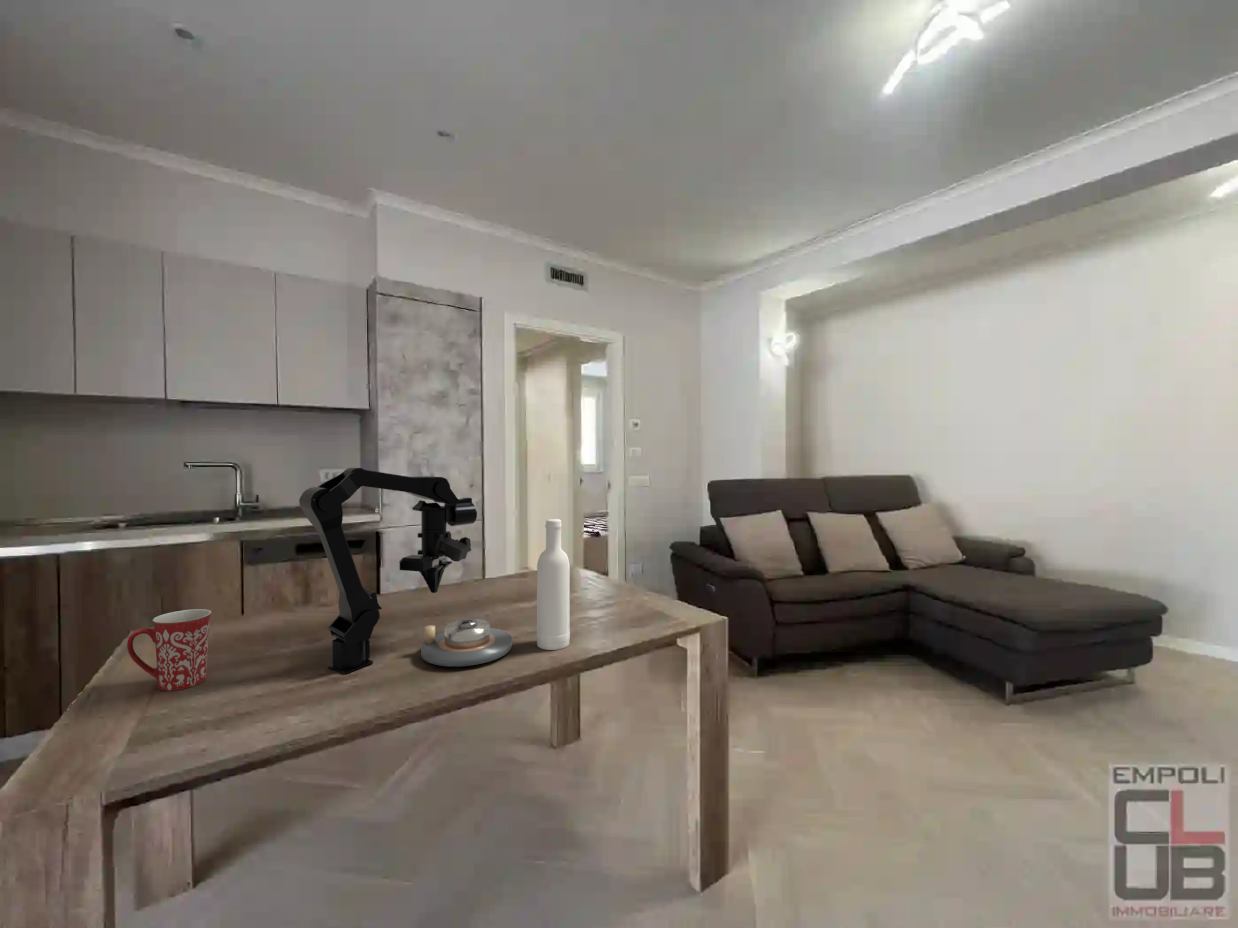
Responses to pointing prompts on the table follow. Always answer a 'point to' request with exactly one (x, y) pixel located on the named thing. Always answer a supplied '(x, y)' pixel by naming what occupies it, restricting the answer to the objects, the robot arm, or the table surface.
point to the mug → (177, 648)
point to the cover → (467, 634)
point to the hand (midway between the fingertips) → (434, 592)
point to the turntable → (445, 656)
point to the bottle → (553, 591)
